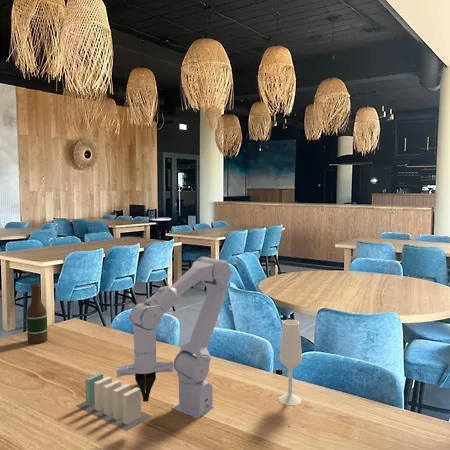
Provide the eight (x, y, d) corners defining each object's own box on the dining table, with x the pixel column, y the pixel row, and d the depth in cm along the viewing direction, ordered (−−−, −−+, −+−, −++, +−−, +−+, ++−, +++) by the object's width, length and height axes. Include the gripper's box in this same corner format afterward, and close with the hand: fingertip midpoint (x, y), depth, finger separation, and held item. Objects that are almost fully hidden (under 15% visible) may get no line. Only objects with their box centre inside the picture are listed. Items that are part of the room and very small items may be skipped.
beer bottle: (51, 340, 180) (49, 283, 178) (34, 345, 173) (32, 287, 171) (40, 336, 184) (38, 281, 182) (23, 342, 177) (21, 285, 175)
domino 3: (121, 408, 124) (121, 381, 123) (107, 415, 120) (107, 387, 119) (117, 406, 125) (117, 379, 124) (103, 413, 121) (103, 386, 120)
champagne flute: (274, 397, 131) (275, 320, 129) (293, 392, 134) (294, 317, 132) (286, 407, 125) (287, 326, 123) (305, 402, 128) (307, 324, 126)
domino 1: (103, 400, 128) (103, 374, 128) (89, 406, 124) (88, 380, 124) (100, 398, 129) (99, 372, 129) (86, 405, 125) (85, 378, 125)
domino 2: (112, 403, 126) (111, 377, 125) (98, 411, 122) (97, 383, 121) (108, 402, 127) (108, 376, 126) (94, 409, 123) (94, 382, 122)
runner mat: (151, 417, 119) (151, 416, 119) (126, 432, 112) (126, 430, 112) (101, 395, 132) (101, 393, 132) (75, 407, 125) (75, 405, 125)
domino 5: (140, 416, 119) (140, 388, 118) (127, 424, 115) (126, 396, 114) (137, 414, 120) (136, 387, 119) (123, 422, 116) (122, 394, 115)
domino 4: (131, 412, 121) (130, 385, 121) (117, 420, 117) (116, 391, 117) (127, 410, 122) (126, 383, 122) (113, 418, 118) (112, 390, 118)
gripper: (171, 342, 118) (171, 390, 119) (116, 346, 115) (117, 395, 116) (174, 351, 111) (174, 402, 112) (116, 356, 108) (117, 408, 109)
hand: (145, 399), depth 114 cm, fingers closed
